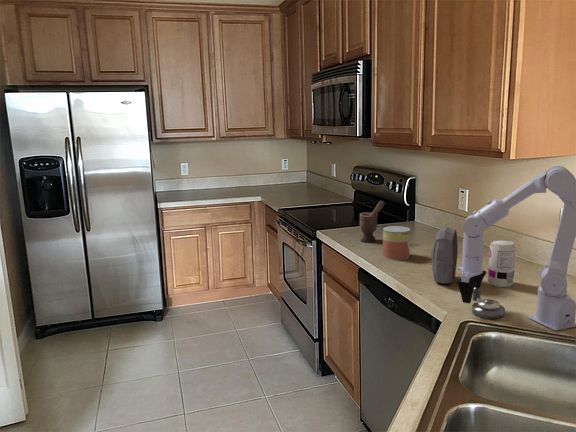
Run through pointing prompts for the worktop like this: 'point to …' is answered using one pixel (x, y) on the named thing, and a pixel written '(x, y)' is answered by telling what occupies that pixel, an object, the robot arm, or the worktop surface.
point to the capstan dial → (484, 301)
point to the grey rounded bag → (445, 255)
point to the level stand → (488, 312)
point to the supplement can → (501, 263)
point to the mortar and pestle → (369, 223)
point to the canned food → (396, 242)
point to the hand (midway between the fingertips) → (470, 297)
